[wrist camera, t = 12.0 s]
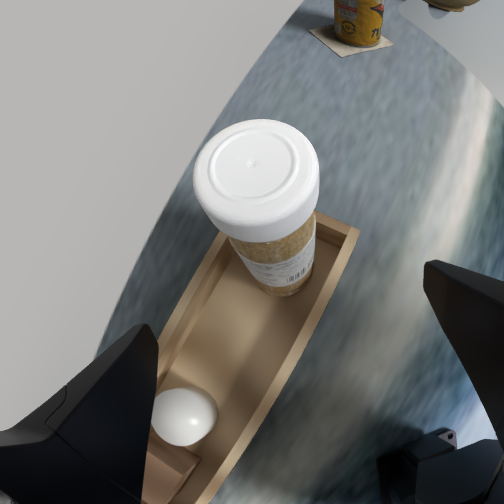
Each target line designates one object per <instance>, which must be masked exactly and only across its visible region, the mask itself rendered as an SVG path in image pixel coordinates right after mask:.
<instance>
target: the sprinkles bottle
mask: <svg viewBox="0 0 504 504" xmlns="http://www.w3.org/2000/svg"><path fill="white" fill-rule="evenodd" d="M193 188H194V192H195V195H196V197H197V200H198V201H199V203H200V205H201V206H202V208H203V210H204V211H205V213H206V214H207V216H208V217H209V218H210V220H211V221H212V223H213V224H214V225H215V226H216V227H217V228H218V229H219V230H220V231H222V232H223V233H225V234H226V235H227V237H228V238H229V241H230V243H231V244H232V246H233V247H234V249H235V250H236V252H237V253H238V255H239V256H240V258H241V259H242V260H243V262H244V263H245V265H246V266H247V268H248V269H249V271H250V272H251V274H252V275H253V276H254V279H255V280H256V282H257V284H258V285H259V286H260V288H261V289H263V290H264V291H266V292H267V293H269V294H270V295H275V296H283V297H284V296H290V295H294V294H296V293H297V292H299V291H301V290H302V289H303V288H304V287H306V286H307V284H308V283H309V281H310V279H311V277H312V275H313V269H314V261H313V259H314V250H315V231H316V219H315V215H314V208H315V206H316V203H317V200H318V194H319V164H318V159H317V155H316V152H315V150H314V148H313V146H312V145H311V143H310V142H309V140H308V139H307V138H306V137H305V136H304V135H303V134H302V133H301V132H300V131H298V130H297V129H295V128H294V127H292V126H290V125H288V124H285V123H282V122H279V121H275V120H268V119H255V120H247V121H243V122H239V123H236V124H233V125H231V126H229V127H227V128H225V129H223V130H222V131H220V132H219V133H217V134H216V135H215V136H214V137H212V138H211V139H210V140H209V141H208V142H207V143H206V144H205V146H204V147H203V149H202V150H201V151H200V153H199V155H198V157H197V160H196V162H195V165H194V169H193Z"/></svg>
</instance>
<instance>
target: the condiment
mask: <svg viewBox="0 0 504 504" xmlns="http://www.w3.org/2000/svg"><path fill="white" fill-rule="evenodd" d="M383 12H384V0H334V21H335V24H334V25H329V26H324V27H321V28H314V29H311V30H309V31H310V32H312V33H313V34H314V35H315V36H316V37H317V38H319V39H320V40H321V41H322V42H323V43H324V44H326V45H327V47H330V48H331V49H332V50H333V51H334V52H335V53H337V54H338V55H339V56H340V57H345V56H348V55H352V54H355V53H360V52H364V51H369V50H374V49H378V48H383V47H386V46H391V45H393V43H391V42H390V41H389V40H387V39H386V38H384V37H383V36H382V35H381V30H382V21H383ZM343 45H344V46H343ZM347 46H349V47H347Z"/></svg>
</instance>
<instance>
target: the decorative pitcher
mask: <svg viewBox="0 0 504 504" xmlns="http://www.w3.org/2000/svg"><path fill="white" fill-rule="evenodd" d="M423 1H425V2H427V3H429V4H431V5H433V6H435V7H438V8H441V9H444V10H448V11H454V12H462V11H463V10H464V6H470V5H472V4H475V3H476V2H478V1H479V0H423Z"/></svg>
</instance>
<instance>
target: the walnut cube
mask: <svg viewBox="0 0 504 504" xmlns="http://www.w3.org/2000/svg"><path fill="white" fill-rule="evenodd" d="M201 459H202V458H201V457H199V456H198V455H196V454H194V453H193V452H191V451H190V450H188V449H186V448H185V447H183V446H176V445H172V444H170V443H168V442H166V441H165V440H163V439H162V438H161V437H160V436H159V435H158V434H157V433H156V431H154V432H152V433H149V440H148V448H147V455H146V463H145V472H144V481H143V490H142V500H143V501H145V502H146V503H148V504H167V503H169V502H170V501H171V500H172V499H173V498H174V497H175V496H176V495H177V494H178V493H180V491H181V490H182V488H183V487H184V485H185V484H186V482H187V481H188V479H189V478H190V476H191V475H192V473H193V472H194V470H195V469H196V467H197V465H198V464H199V462H200V461H201Z"/></svg>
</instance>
